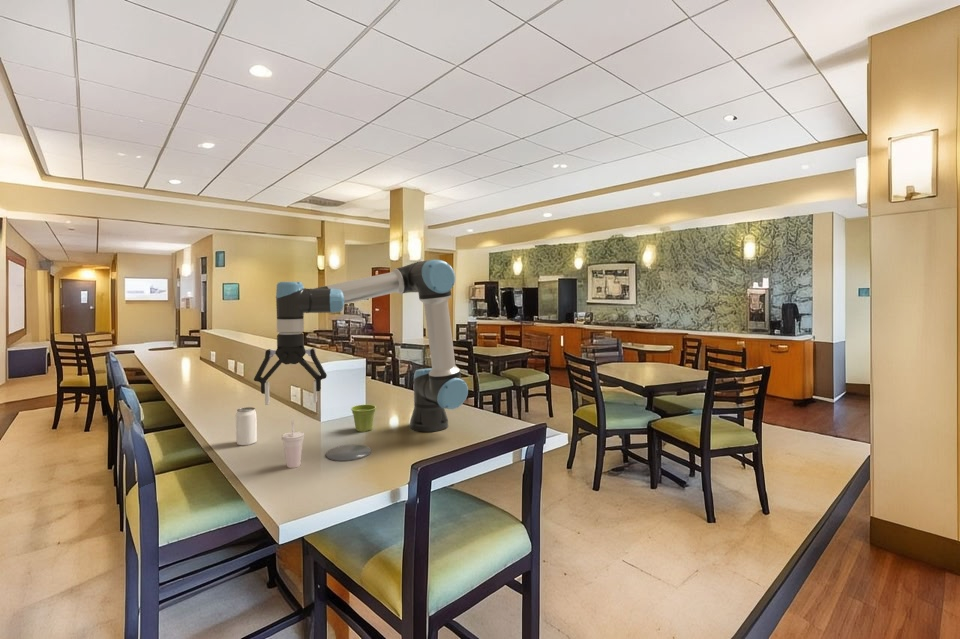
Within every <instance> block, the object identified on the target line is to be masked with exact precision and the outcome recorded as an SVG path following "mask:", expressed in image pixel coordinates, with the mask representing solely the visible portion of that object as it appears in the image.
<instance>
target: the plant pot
mask: <svg viewBox="0 0 960 639" xmlns="http://www.w3.org/2000/svg"><path fill="white" fill-rule="evenodd" d="M376 409H377V406H376V405H374V404H358V405H354V406H352V407H351V408H350V410H351V411H352V415H353V420H354V426H355V430H356V431H358V432H360V433H363V432H367V431H372V429H373V425H374V424H373V423H374V416H375V412H376Z"/></svg>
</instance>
